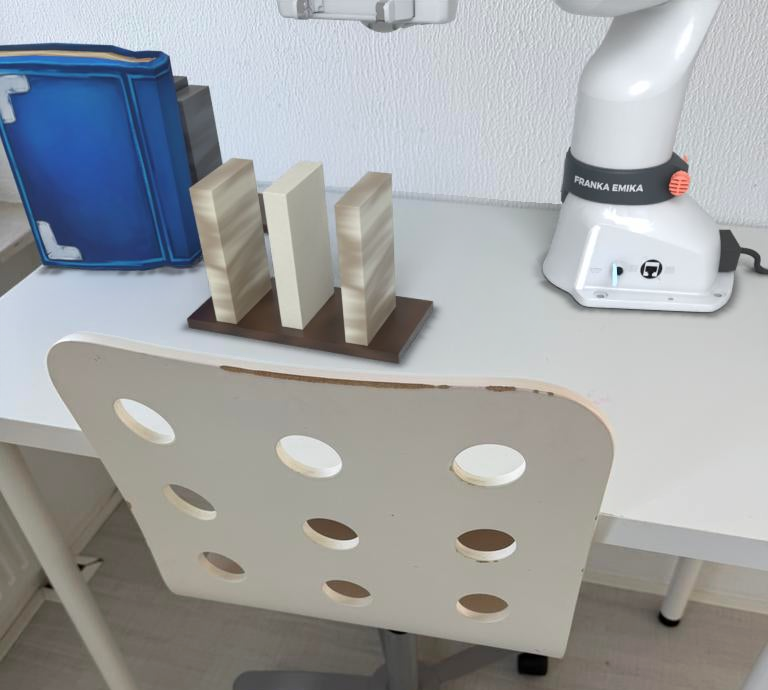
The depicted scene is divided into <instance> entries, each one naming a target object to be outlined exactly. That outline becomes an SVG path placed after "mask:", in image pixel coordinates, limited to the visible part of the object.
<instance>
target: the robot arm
mask: <svg viewBox="0 0 768 690" xmlns="http://www.w3.org/2000/svg"><path fill="white" fill-rule="evenodd" d="M552 1H553V3H554V4H555V5H556V6H557V8H560V9H561V10H562V11H563V12H566V13H568V14H571V15H574V16H575V15H576V16H583V17H592V18H612V21H611V23H610V25H609V27H608V30H607V32H606V34H605V35H604V37H603V39H602V41H601V43H600V45H599V46H598V48H597V49H596V50H595V52H594V53H593V54H592V55H591V56H590V57H589V59H588V60H587V62H586V63H585V65H584V67H583V69H582V71H581V73H580V76H579V79H578V82H577V83H578V84H577V91H576V100H575V108H574V116H573V125H572V133H571V140H570V146H569V147H568V149H567V151H566V153H565V157H564V160H563V164H562V165H563V166H562V173H561V182H560V201H561V206H560V210H559V214H558V219H557V222H556V226H555V231H554V234H553V237H552V240H551V243H550V246H549V249H548V251H547V254H546V255H545V258H544V261H543V263H542V273H543V275H544V276H545V278H546V279H547V280H548V281H549V282H550V283H552V284H553V285H554V286H556V287H557V288H559V289H561V290H563V291H564V292H567V293H568V294H569V295H570V296H572V297H573V299H574V300H575V301H576V302H577V303H579V304H580V305H581V306H583V307H587V308H588V307H589V308H606V309H625V310H626V309H629V310H647V311H649V310H650V311H669V312H692V313H713V312H715V311H717V310H719V309H721V308H723V306H725V305H726V304H727V302H728V301H729V299H730V298H731V295H732V293H733V287H734V281H735V273H734V272H735V271H736V270H737V268H738V264H739V260H740V257H741V254H743V255H747V256H750V257H751V258H753V259H754V261H753V269H754V270H755V272H757V273H758V274H761V275H767V276H768V269H767V268H765V267H764V266H762V265H761V263H762V262H761V261H762V257H761V255H760V253H759V252H758V251H756V250H754V249H753V248H749V247H748V248H747V247H743V246H741V245H740V243H739V242H738V240H737V239H736V237H735V234H734V233H733V232H732V230H731V229H720V228H719V226H718V223H717V221H716V220H715V218H713V216H712V215H711V214H710V213H708V212H707V211H706V210H705V209H704V208H703V207H702V206H701V205H700V204H699V203H698V202H697V201H696V200H695V199H694V198H693V197H692V196H690V194H689V193H687V192H688V189H689V188H690V182H691V177H690V174H689V167H690V165H689V164H688V160H689V159H688V157H687V155H686V154H684V155H683V158H682V157H681V156H680V155H678V153H676V152H675V151H674V147H675V144H676V139H677V133H678V129H679V125H680V121H681V116H682V111H683V107H684V102H685V98H686V94H687V90H688V87H689V83H690V79H691V77H692V74H693V71H694V68H695V65H696V62H697V59H698V57H699V55H700V53H701V51H702V48H703V45H704V43H705V41H706V38H707V36H708V34H709V32H710V30H711V27H712V25H713V23H714V21H715V18H716V17H717V14H718V13H719V10H720V8H721V6H722V4H723V1H724V0H552ZM276 4H277V10H278V13H279V15H280V16H281V18H285V19H293V20H301V21H307V20H328V21H329V20H331V21H353V22H360V23H361V24H362V25H363V26H365V27H366V28H367V29H369V30H371V31H373V32H377V33H380V34H381V33H382V34H386V33H392V32H395V31H397V30H399V29H403V30H405V29H408V28H410V27H414V26H419V25H421V26H423V25H445V24H450V23H452V22H454V21H455V20H456V18H457V10H458V9H457V8H458V0H276Z"/></svg>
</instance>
